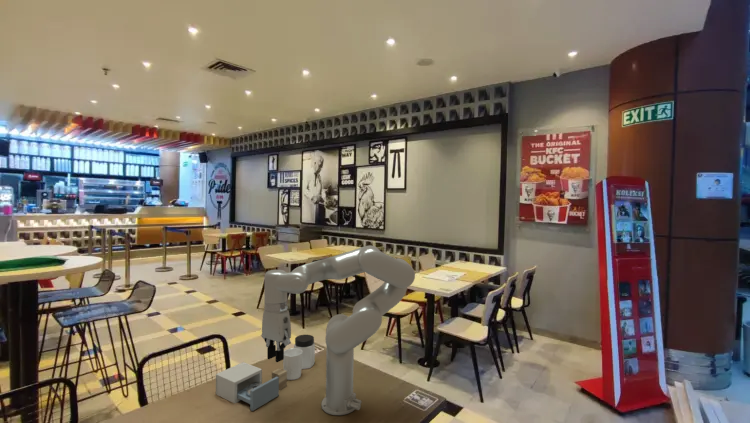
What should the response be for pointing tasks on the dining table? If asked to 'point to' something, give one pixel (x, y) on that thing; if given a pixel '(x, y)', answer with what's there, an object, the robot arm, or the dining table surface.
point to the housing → (236, 380)
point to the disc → (251, 388)
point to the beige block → (280, 377)
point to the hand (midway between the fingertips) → (275, 358)
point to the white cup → (293, 363)
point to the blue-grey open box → (260, 393)
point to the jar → (306, 349)
